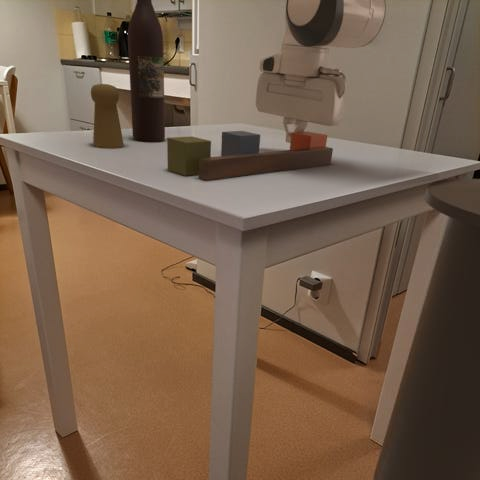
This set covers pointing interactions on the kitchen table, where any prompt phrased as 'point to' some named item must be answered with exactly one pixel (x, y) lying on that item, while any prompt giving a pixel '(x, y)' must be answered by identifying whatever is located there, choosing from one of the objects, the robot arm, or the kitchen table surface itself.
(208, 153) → the olive block
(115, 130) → the cork
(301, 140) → the terracotta block
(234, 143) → the slate-blue block
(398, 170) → the kitchen table surface
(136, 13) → the wine bottle
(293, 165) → the straightedge
